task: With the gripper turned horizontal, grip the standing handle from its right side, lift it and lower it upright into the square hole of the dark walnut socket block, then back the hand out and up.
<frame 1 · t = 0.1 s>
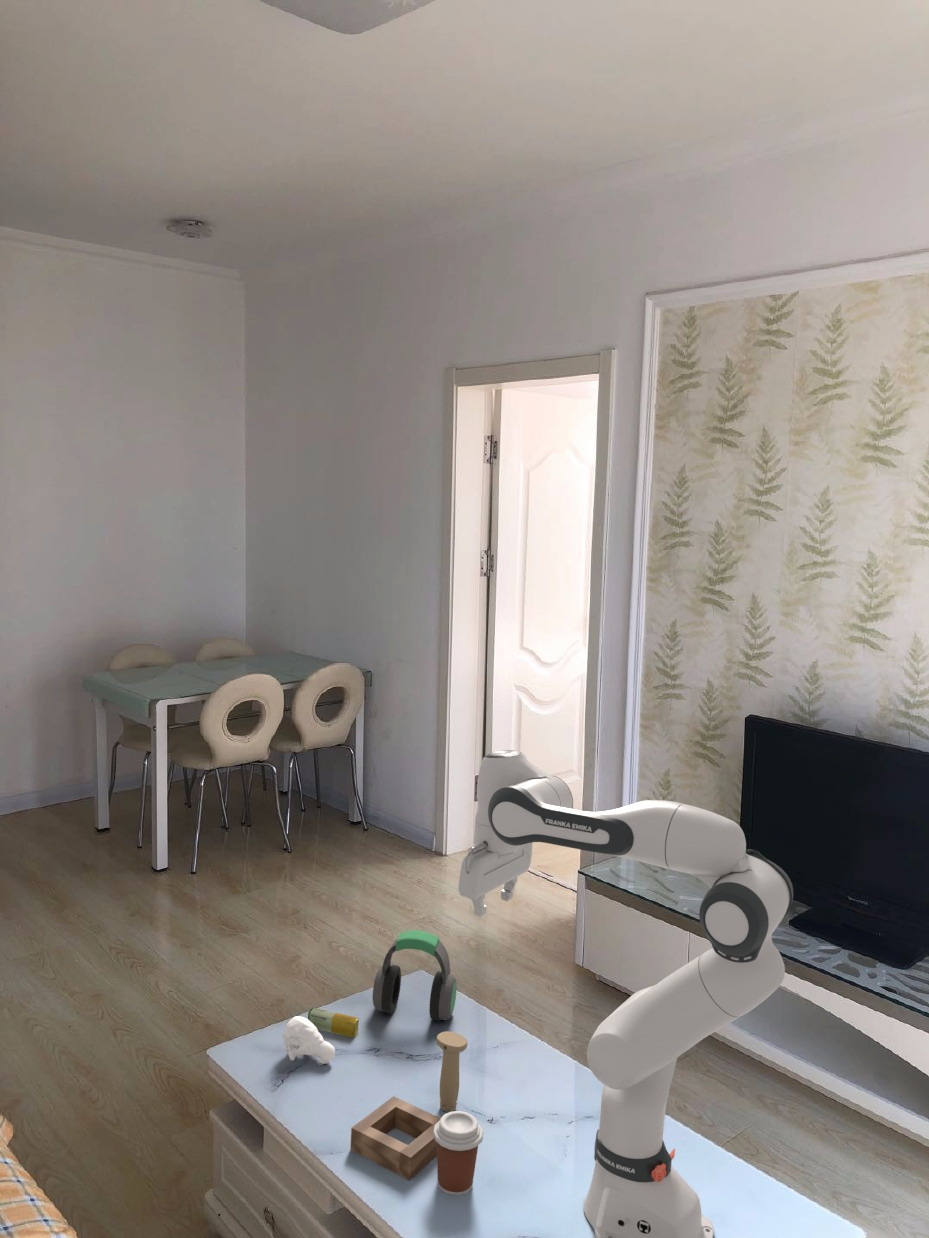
hand: (493, 906, 190), 48 cm above the table, tool pointing down, fingers open, 8 cm apart
handle: (448, 1108, 207), on the table
headphones: (413, 1014, 244), on the table
medication box: (332, 1031, 235), on the table
white lumpy rounded piece: (310, 1059, 222), on the table
socket block: (400, 1147, 194), on the table
coffee cup: (455, 1184, 185), on the table
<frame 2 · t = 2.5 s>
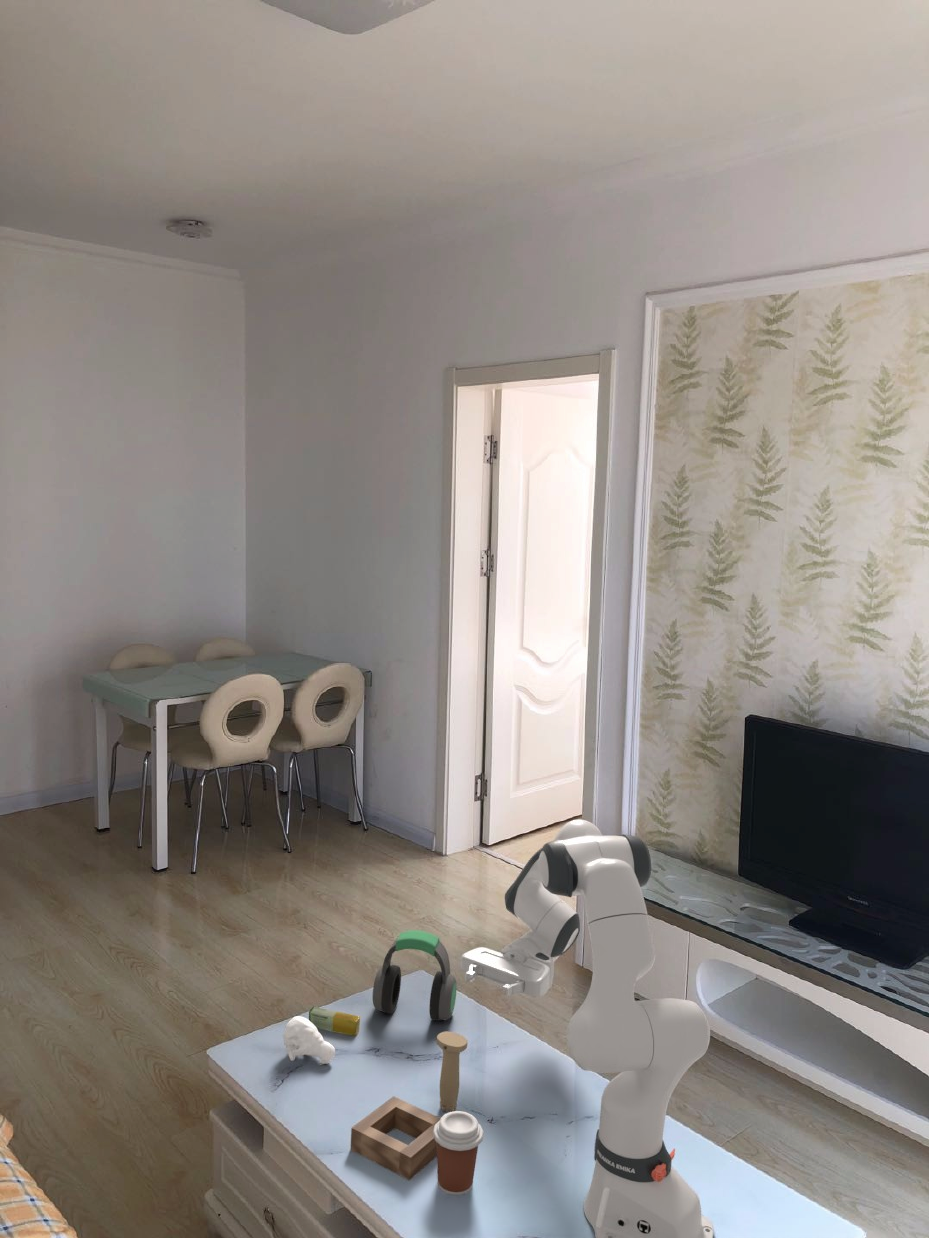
hand: (486, 984, 215), 22 cm above the table, tool horizontal, fingers open, 8 cm apart
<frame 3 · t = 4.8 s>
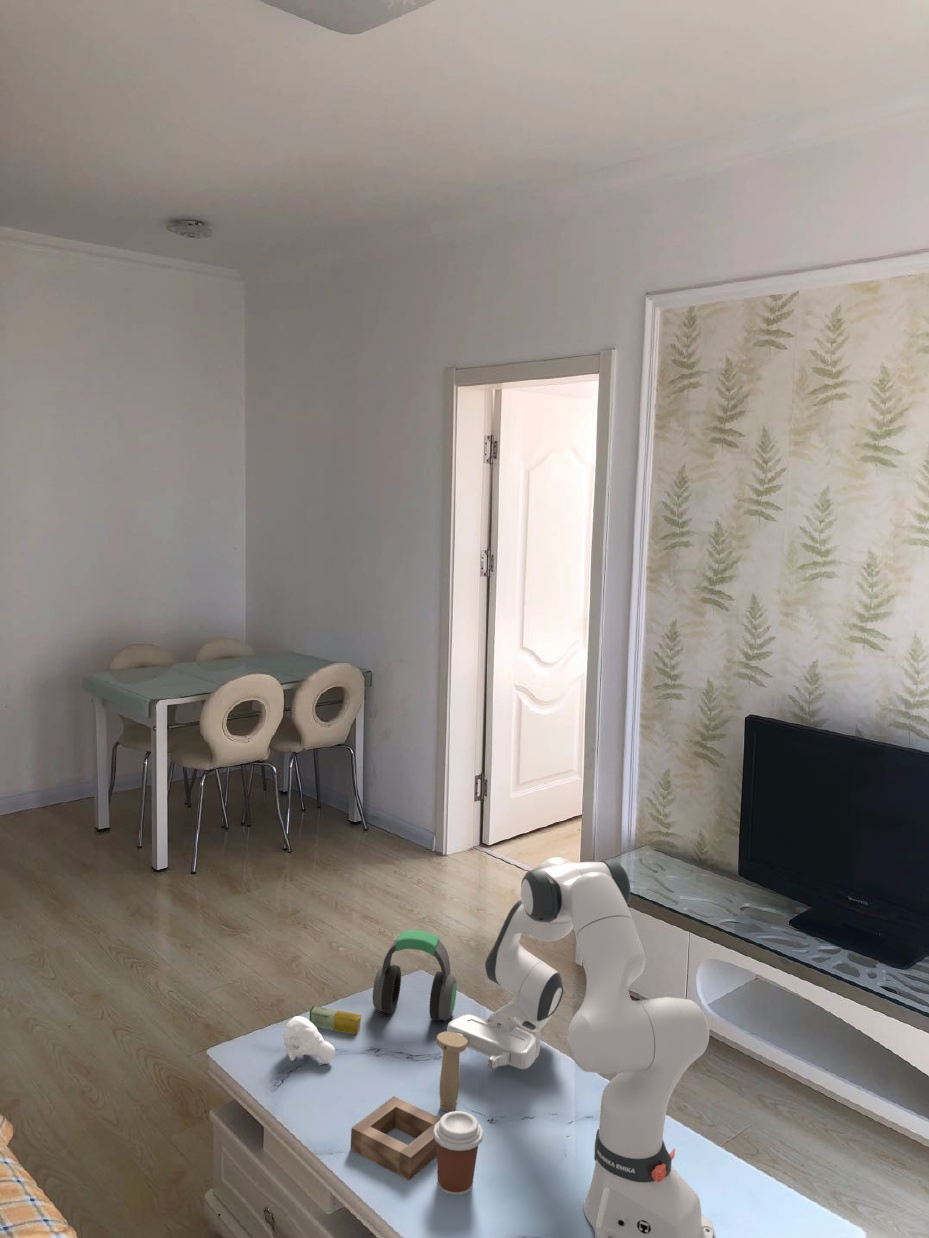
hand: (471, 1056, 212), 8 cm above the table, tool horizontal, fingers open, 8 cm apart
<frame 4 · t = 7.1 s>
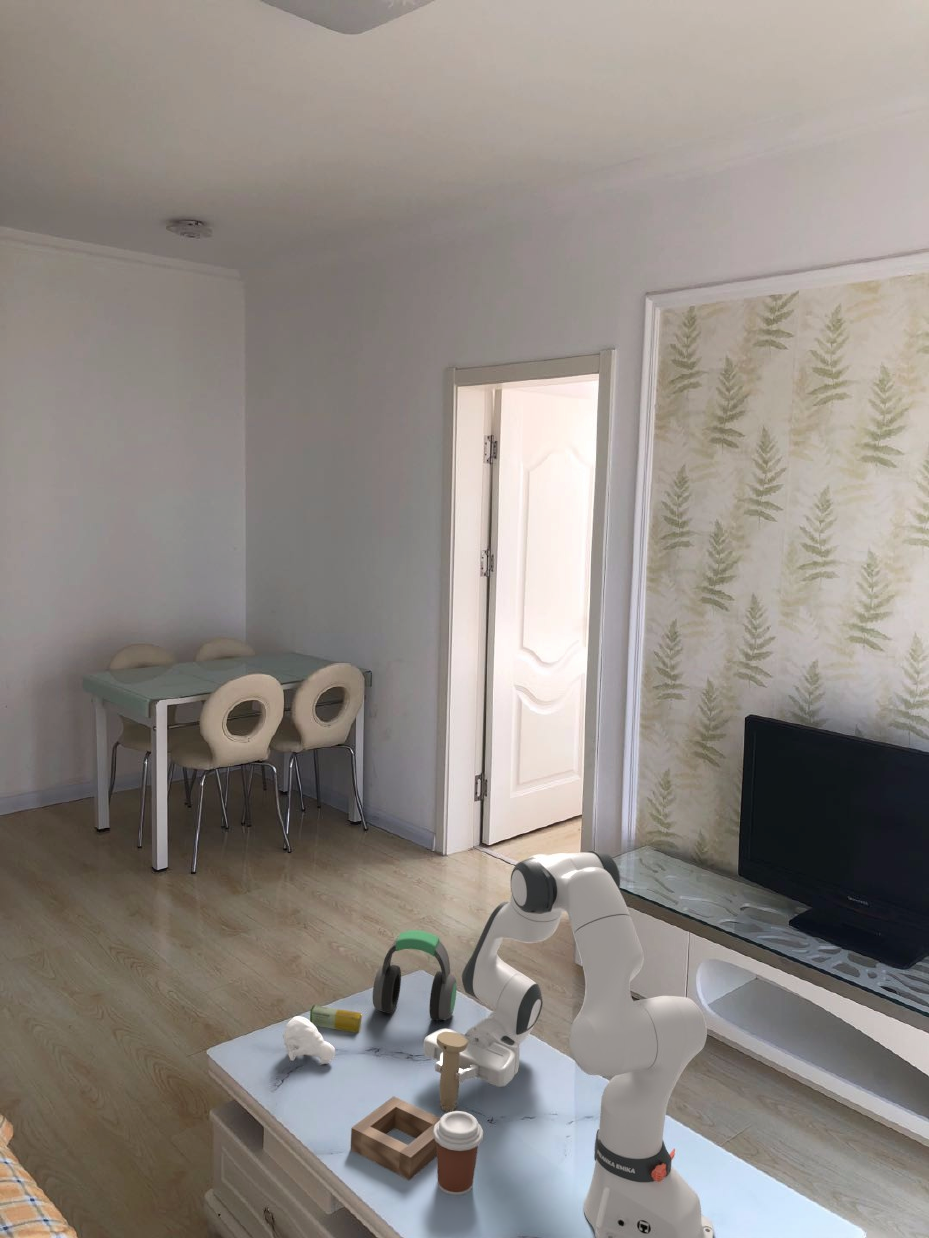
hand: (447, 1073, 205), 8 cm above the table, tool horizontal, fingers closed on handle, 3 cm apart
handle: (448, 1108, 207), on the table, touching gripper
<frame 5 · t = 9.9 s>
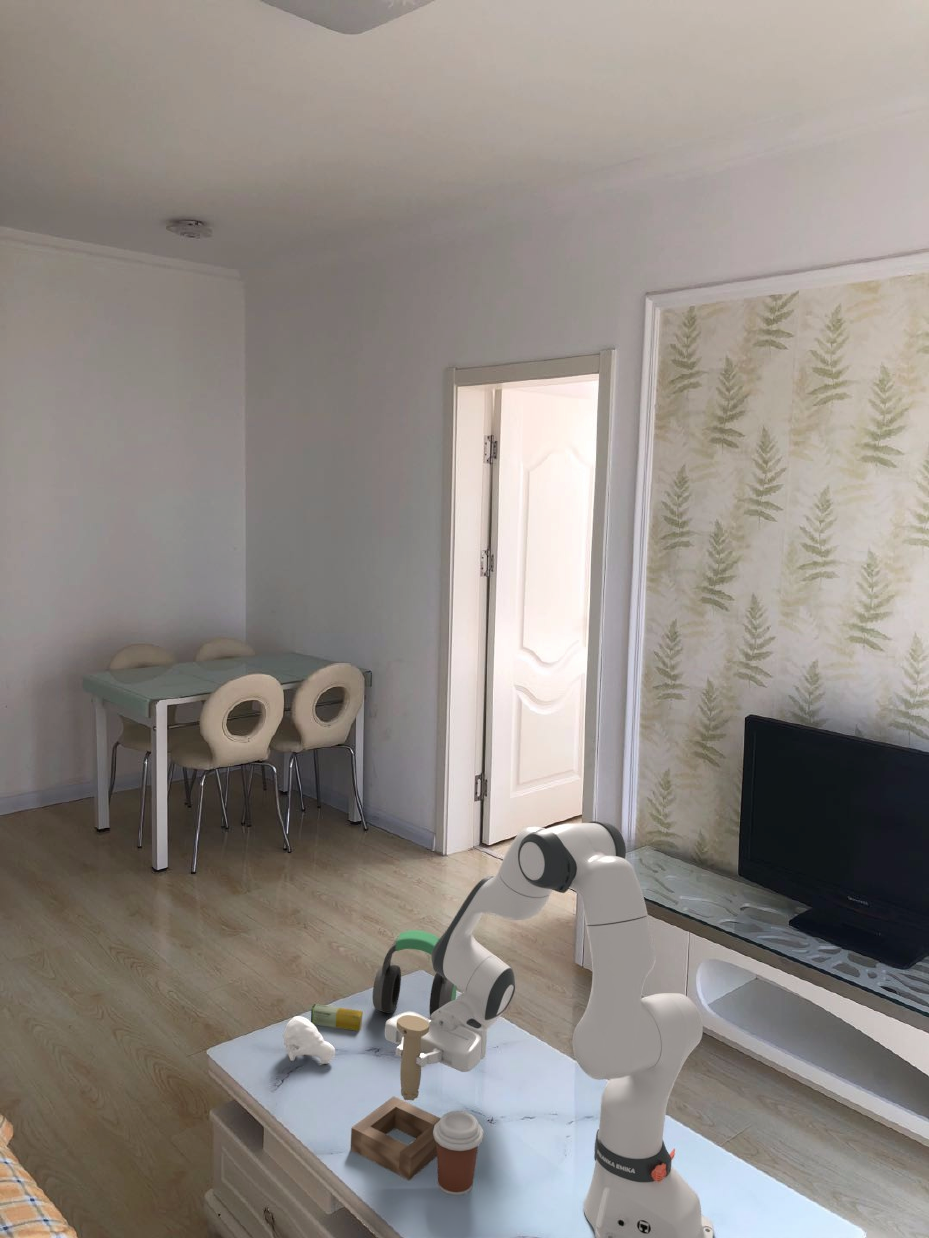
hand: (408, 1057, 193), 18 cm above the table, tool horizontal, fingers closed on handle, 3 cm apart
handle: (409, 1097, 194), point 9 cm above the table, touching gripper
when the fingers open (9 cm above the table, at t = 12.6 s): handle drops 1 cm, resting in socket block.
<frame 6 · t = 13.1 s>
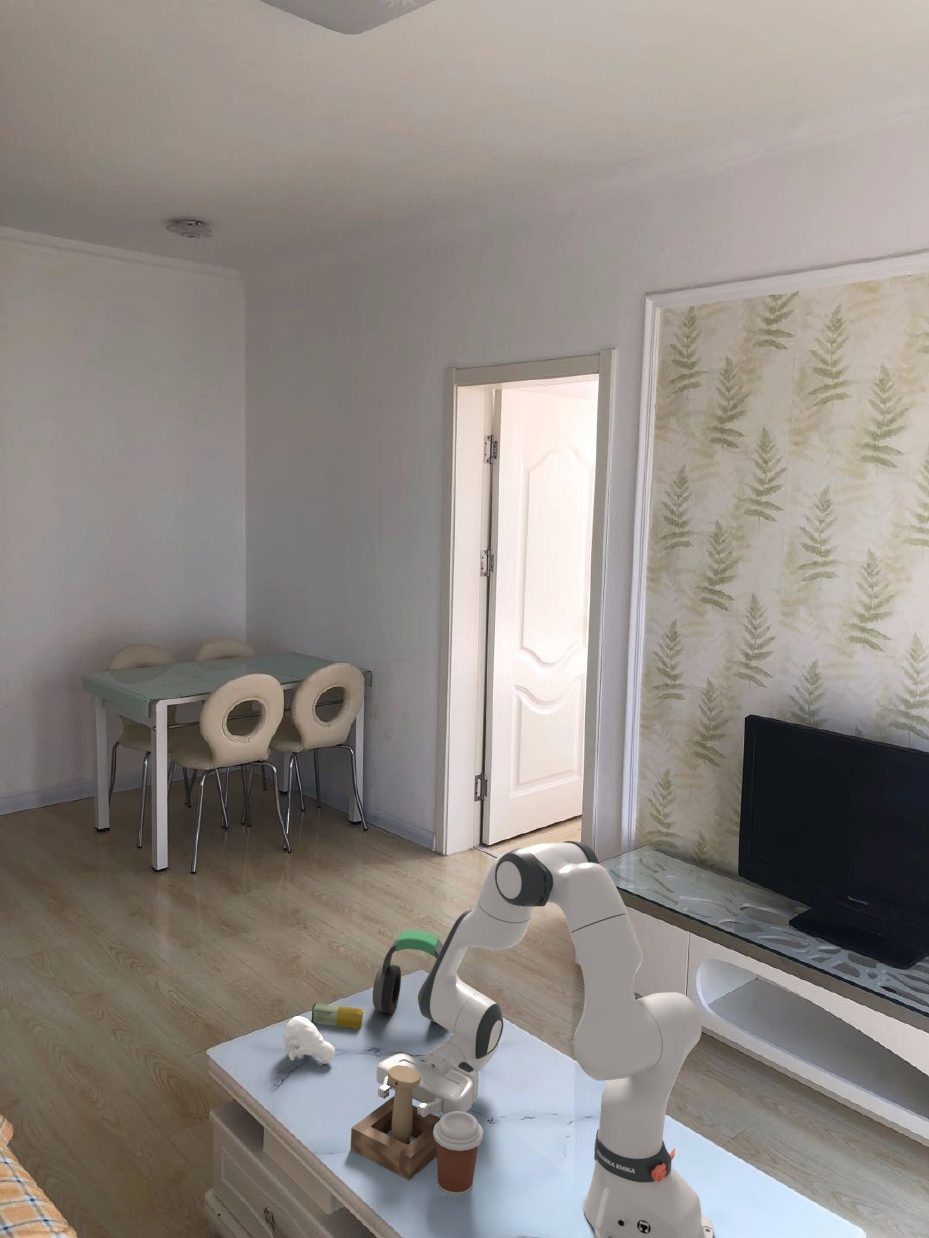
hand: (400, 1102, 192), 9 cm above the table, tool horizontal, fingers open, 8 cm apart
handle: (400, 1148, 194), resting in socket block
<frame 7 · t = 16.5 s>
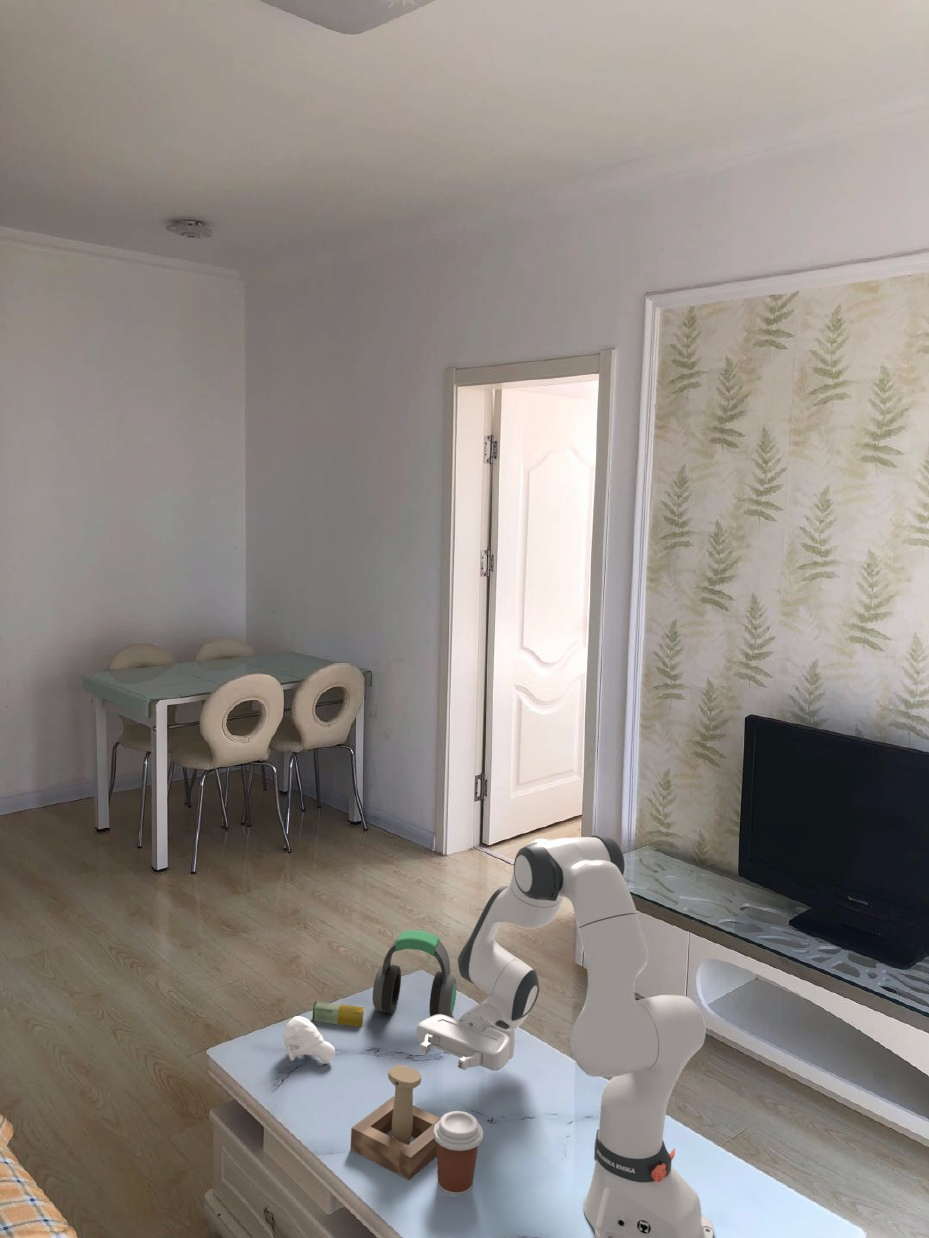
hand: (441, 1057, 202), 13 cm above the table, tool horizontal, fingers open, 8 cm apart
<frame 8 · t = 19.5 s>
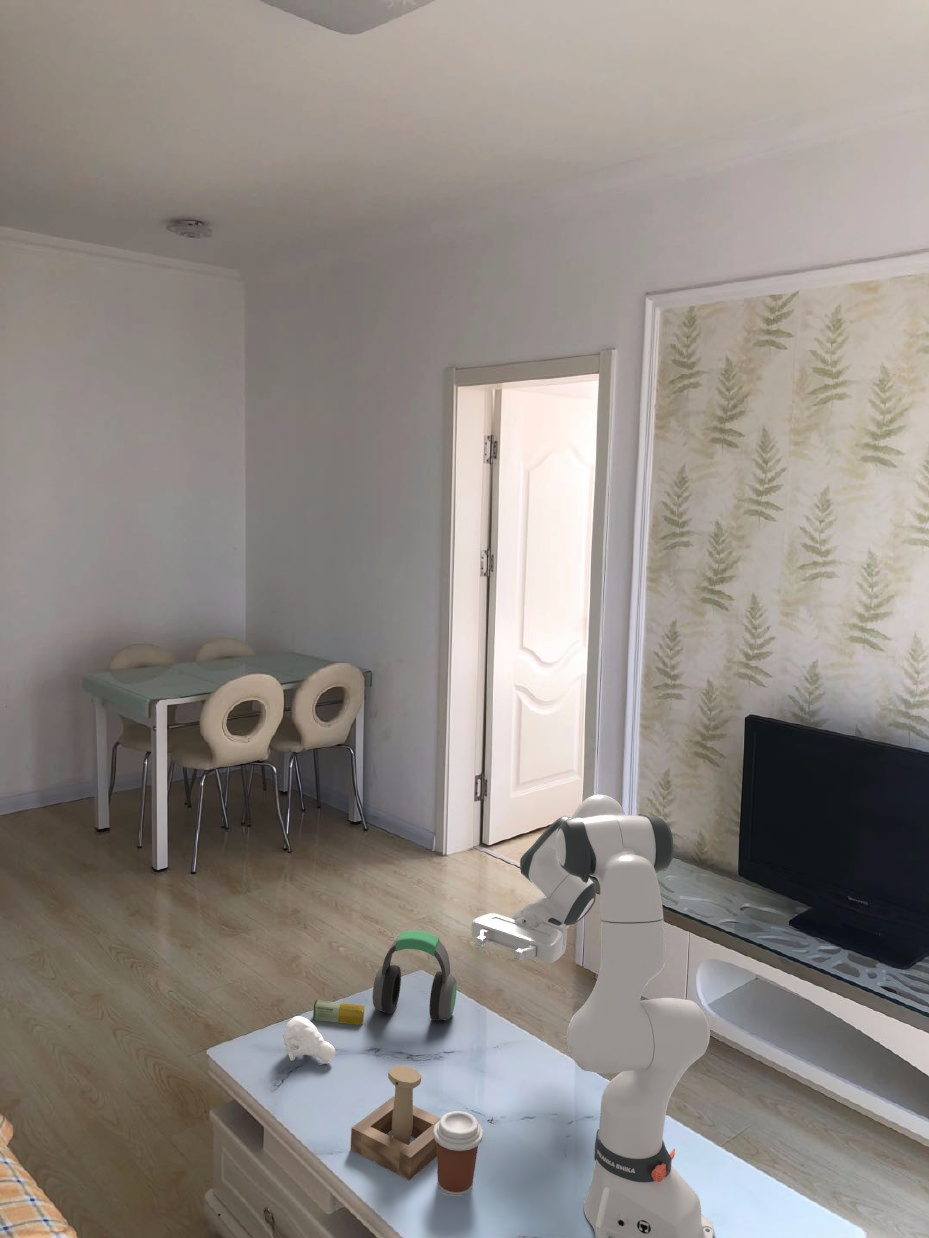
hand: (497, 949, 209), 32 cm above the table, tool horizontal, fingers open, 8 cm apart
at the end: handle 0.1 cm off-centre on the socket block, point 0.0 cm above the socket block's base; handle tilted 0°; the gripper is holding nothing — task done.
